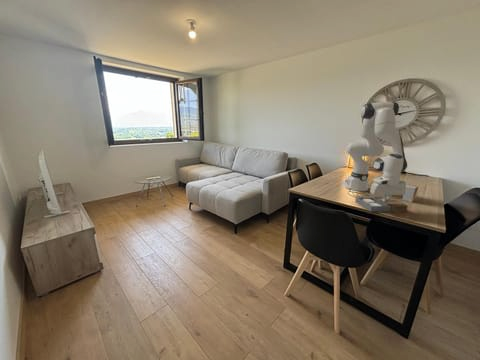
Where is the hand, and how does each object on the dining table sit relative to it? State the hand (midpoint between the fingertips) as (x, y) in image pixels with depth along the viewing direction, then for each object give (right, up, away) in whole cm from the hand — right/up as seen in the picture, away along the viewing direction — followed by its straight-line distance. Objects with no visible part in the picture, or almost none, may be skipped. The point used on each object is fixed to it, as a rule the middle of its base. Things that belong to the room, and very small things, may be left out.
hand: (385, 201), depth 125 cm
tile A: (-5, 0, +8) cm, 10 cm away
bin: (-5, -4, +5) cm, 8 cm away
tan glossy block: (+6, -4, +5) cm, 9 cm away
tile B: (-6, -2, 0) cm, 6 cm away
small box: (+30, -1, +18) cm, 35 cm away
